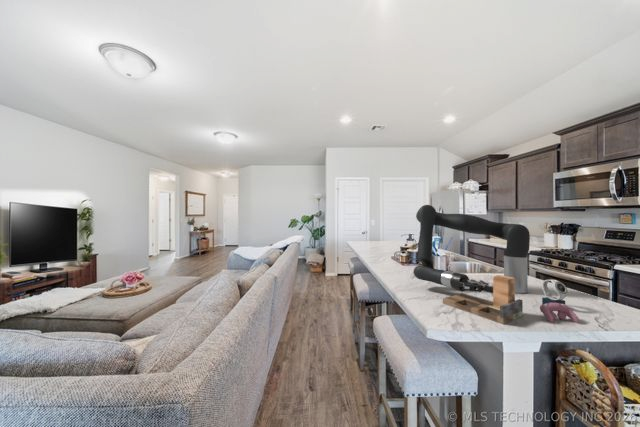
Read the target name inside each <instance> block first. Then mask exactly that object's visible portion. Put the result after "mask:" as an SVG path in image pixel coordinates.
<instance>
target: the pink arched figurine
mask: <svg viewBox="0 0 640 427" xmlns="http://www.w3.org/2000/svg"><path fill="white" fill-rule="evenodd" d="M539 310H540V312H541V313H542V314H543V316H544V317H545V319H546V320H547V321H549V323H552V324H553V323H555V320H556V319H559V320H561V319H563V321H564V320H566V319H567V317H568V318H569V319H570V320H571V321H573V322H574V323H575V322H576V324H579V323H580V319H579V316H577V315H576V313H575V312H574V311H573V310H572V309H571V307H569V306H568V305H567V304H566V303H565V304H560V303H546V304H543V305H542V304H541V305H540V306H539ZM555 312H557V313H555Z"/></svg>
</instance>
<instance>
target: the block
mask: <svg viewBox="0 0 640 427" xmlns="http://www.w3.org/2000/svg"><path fill="white" fill-rule="evenodd" d="M492 281H493V282H492V284H493V285H492V287H493V293H492V294H493V295H492V296H493V299H492V300H493V301H492V302H493V308H497V309H500V306H502V305H505V304H507V303H510V302H513V301H516V298H515V297H516V295H515V294H516V293H515V278H512V277H507V276H504V275H501V274H500V275H495V276H493V277H492Z"/></svg>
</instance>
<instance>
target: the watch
mask: <svg viewBox="0 0 640 427" xmlns="http://www.w3.org/2000/svg"><path fill="white" fill-rule="evenodd" d="M550 282H551V285H552V289H553V291H555V293H556V294H557V296H558V297H555V296H553V295H552V293H551V291H550V289H549V286H548V283H550ZM541 288H542V292H543V294H544V296H545V297H542V298H541V301H542V302H541V305H543V304H546V303H560V304H566V300H564V299H565V298H566V296H567V293H568V288H567V286H566V285H565V284H564V283H563V282H561V281H559V280H556V279H545V280H543V282H542V284H541Z"/></svg>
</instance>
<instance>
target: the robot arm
mask: <svg viewBox="0 0 640 427" xmlns="http://www.w3.org/2000/svg"><path fill="white" fill-rule="evenodd" d="M415 218H416V220H417V221H418V222H419V223H420V228H419V229H420V230H419V231H420V232H419V237H418V241H417V242H418V243H417V244H418V245H417V260H418V261H420V263H421V264H420V265H417V266H415V267H414V269H413V275H414V277H415V278H416V279H418V280H422V281H426V282H431V283H434V284H436V285H440V286H443V287H446V288H448V289H449V288H450V289H453V290H456V291H460V292H475V293H476V292H477V293H482V292H483V293H484V292H485V293H490V294H493V286H491V285H489V283H488V282H486V281H484V280H481V279H480V280H476V279H472V278H471V279H470V278H469V276H468V275H466V274H465V273H460V272H455V271H449V270H443V269H439V268H438V269H437V268H435V266H434V261H433V234H434V226H437V227H444V228H447V229H451V230H455V231H459V232H464V233H468V234H473V235H483V236H486V235H487V236H492V237H494V238H499V239H501V240H504V241H506V247H505V248H504V250H503V276H507V277H512V278H515V294H516V293H517V294H527V293H528V290H529V289H528V278H529V277H528V254H529V252H530V243H531V242H530V239H531V237H530V236H531V234H530V231H529V228H528V227H527V226H525V225H523V224H519V223H518V224H517V223H507V222H506V223H503V222H496V221H491V220H488V219H485V218H482V217H479V216H476V215H471V214H467V213H466V214H464V213H442V212H438V211H436V208H435V207H434V206H433V205H431V204H425V205H422V206H420V207H419V208H418V211H417V212H416V216H415Z"/></svg>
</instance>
